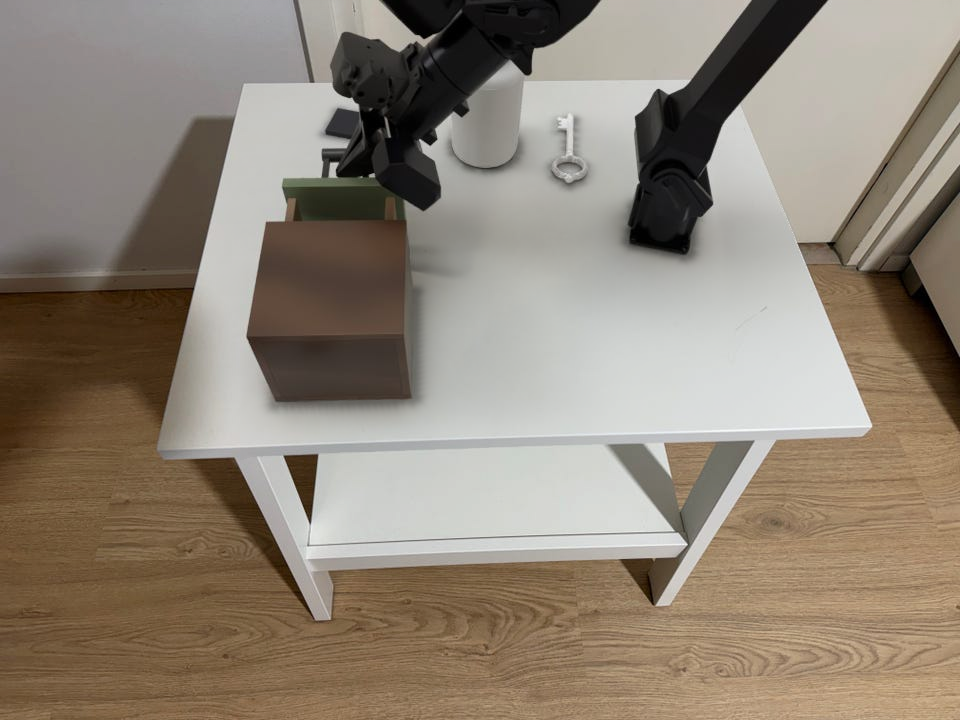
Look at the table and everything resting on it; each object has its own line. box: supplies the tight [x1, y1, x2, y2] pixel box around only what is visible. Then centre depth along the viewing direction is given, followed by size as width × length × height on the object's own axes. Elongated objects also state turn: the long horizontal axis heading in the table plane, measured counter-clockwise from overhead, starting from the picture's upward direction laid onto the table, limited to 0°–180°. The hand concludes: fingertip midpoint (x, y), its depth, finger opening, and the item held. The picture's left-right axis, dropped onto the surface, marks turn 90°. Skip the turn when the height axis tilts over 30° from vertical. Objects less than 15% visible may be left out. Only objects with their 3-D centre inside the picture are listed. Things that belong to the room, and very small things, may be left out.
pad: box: [324, 107, 360, 140], centre depth 86 cm, size 4×4×1 cm
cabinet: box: [245, 219, 414, 403], centre depth 64 cm, size 13×13×11 cm
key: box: [551, 112, 589, 184], centre depth 84 cm, size 12×1×4 cm
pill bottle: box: [450, 60, 525, 169], centre depth 78 cm, size 8×8×15 cm
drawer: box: [281, 147, 407, 221], centre depth 70 cm, size 17×11×9 cm
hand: (339, 176), depth 69 cm, fingers closed
